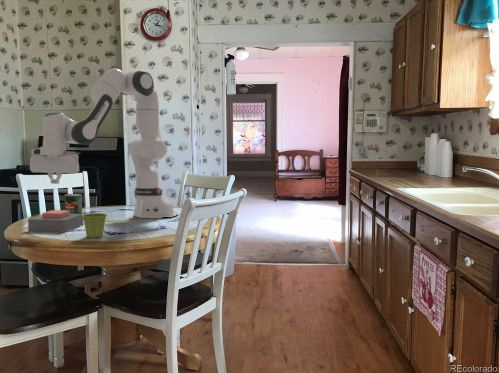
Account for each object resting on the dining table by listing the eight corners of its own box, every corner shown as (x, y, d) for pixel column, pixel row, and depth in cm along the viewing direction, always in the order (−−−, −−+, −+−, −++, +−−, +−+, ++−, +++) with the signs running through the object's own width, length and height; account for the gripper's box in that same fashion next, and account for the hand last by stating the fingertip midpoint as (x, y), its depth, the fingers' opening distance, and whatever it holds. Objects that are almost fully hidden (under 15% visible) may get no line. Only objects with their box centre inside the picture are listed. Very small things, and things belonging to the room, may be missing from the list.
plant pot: (87, 233, 182) (87, 212, 181) (110, 234, 181) (110, 213, 180) (78, 238, 172) (77, 216, 171) (102, 239, 172) (102, 217, 171)
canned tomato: (82, 215, 226) (82, 193, 225) (82, 217, 218) (81, 195, 217) (65, 215, 223) (65, 193, 222) (64, 218, 216) (64, 195, 215)
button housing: (83, 225, 200) (82, 213, 199) (65, 232, 184) (65, 220, 183) (48, 223, 201) (48, 212, 200) (28, 231, 185) (28, 219, 185)
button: (70, 220, 196) (69, 210, 195) (61, 223, 188) (60, 213, 187) (52, 219, 196) (52, 210, 196) (42, 222, 188) (42, 213, 188)
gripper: (81, 151, 191) (82, 183, 193) (35, 150, 193) (36, 182, 194) (74, 151, 185) (75, 184, 186) (27, 150, 187) (28, 183, 188)
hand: (55, 183), depth 190 cm, fingers closed
